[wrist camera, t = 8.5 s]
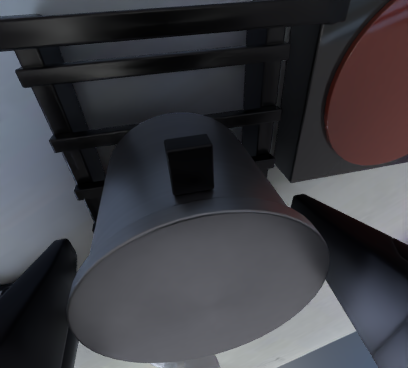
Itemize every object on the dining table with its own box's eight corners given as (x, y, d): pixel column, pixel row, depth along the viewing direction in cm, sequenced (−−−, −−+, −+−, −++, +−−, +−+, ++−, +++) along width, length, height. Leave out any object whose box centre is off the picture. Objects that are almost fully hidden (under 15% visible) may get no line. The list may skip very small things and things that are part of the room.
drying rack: (247, 218, 19) (281, 284, 15) (119, 243, 18) (111, 324, 13) (264, -2, 11) (353, -8, 6) (25, 14, 10) (-81, 21, 5)
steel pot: (245, 228, 15) (299, 340, 10) (128, 252, 14) (121, 389, 9) (257, 71, 10) (386, 143, 5) (66, 92, 9) (-39, 213, 4)
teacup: (229, 347, 34) (240, 388, 30) (162, 369, 34) (164, 414, 30) (216, 317, 28) (228, 364, 24) (134, 344, 28) (132, 396, 24)
